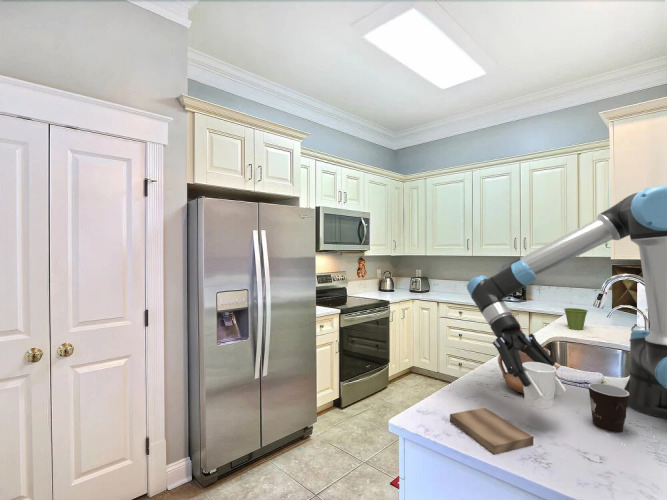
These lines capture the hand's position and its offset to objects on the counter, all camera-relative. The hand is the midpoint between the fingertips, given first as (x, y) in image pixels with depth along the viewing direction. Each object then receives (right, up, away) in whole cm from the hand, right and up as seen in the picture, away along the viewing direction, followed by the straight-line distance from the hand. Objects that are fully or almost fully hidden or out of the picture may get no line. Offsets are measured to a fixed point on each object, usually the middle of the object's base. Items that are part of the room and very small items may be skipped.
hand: (550, 395), depth 90 cm
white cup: (-1, -4, +3) cm, 5 cm away
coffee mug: (+17, -10, +2) cm, 20 cm away
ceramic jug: (+9, -10, +27) cm, 30 cm away
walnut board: (-16, -10, 0) cm, 19 cm away
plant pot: (+86, -9, +114) cm, 143 cm away
